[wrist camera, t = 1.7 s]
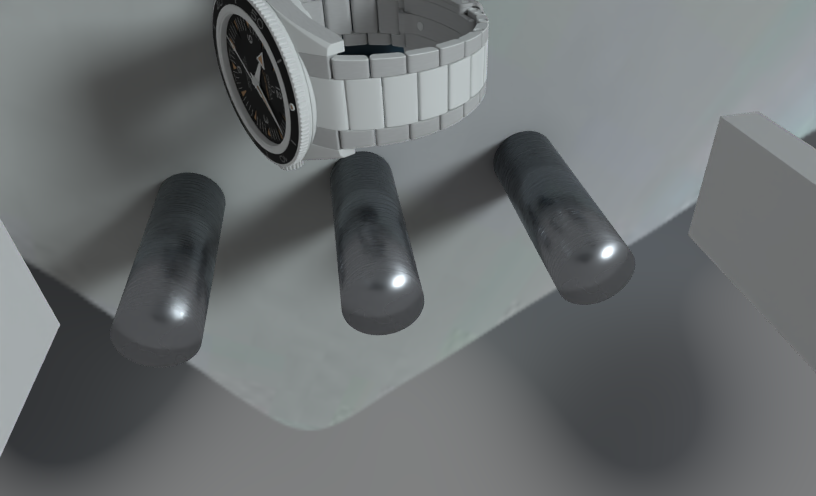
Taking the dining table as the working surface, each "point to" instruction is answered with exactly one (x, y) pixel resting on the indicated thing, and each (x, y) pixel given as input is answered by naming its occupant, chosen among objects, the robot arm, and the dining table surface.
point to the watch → (348, 71)
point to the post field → (359, 249)
